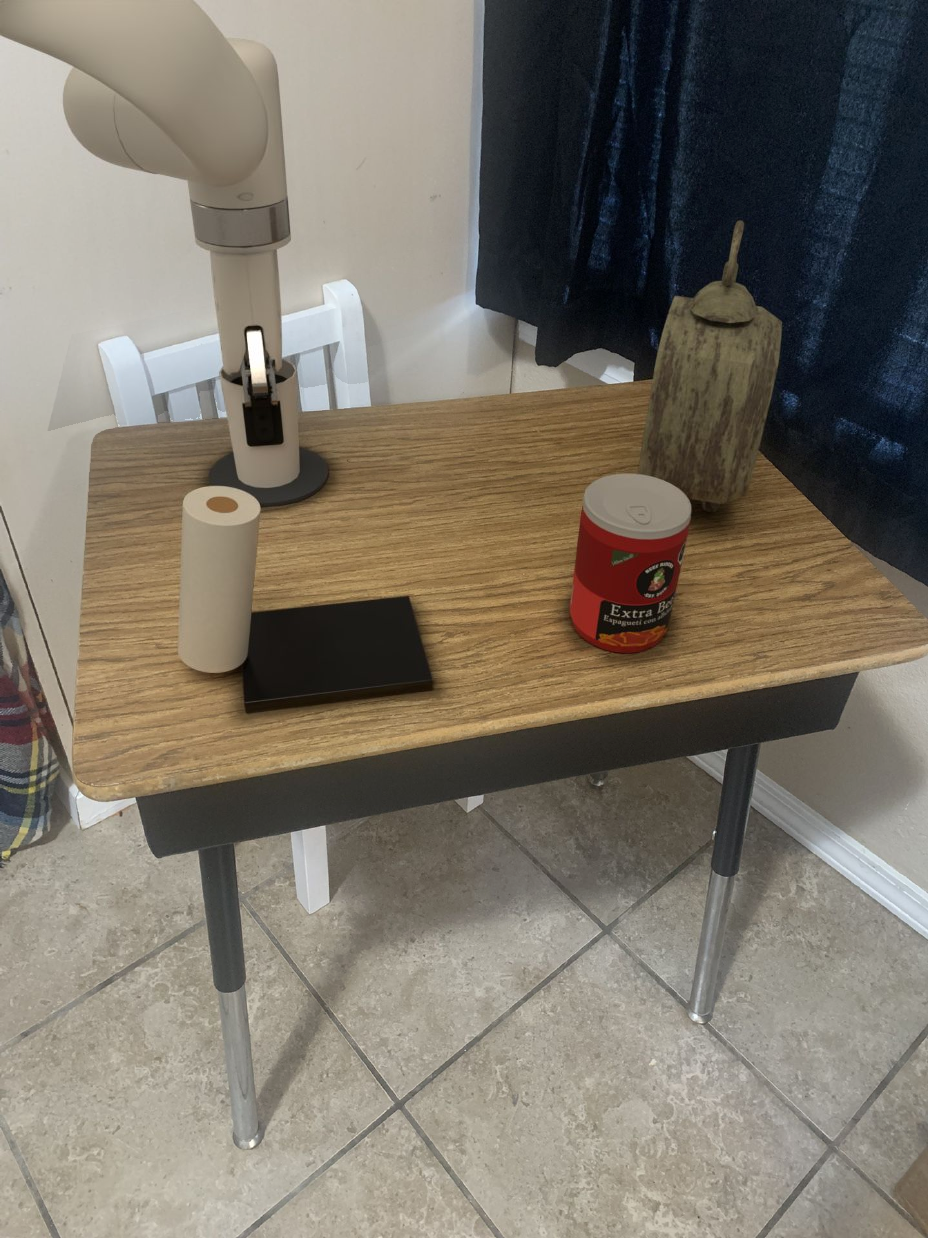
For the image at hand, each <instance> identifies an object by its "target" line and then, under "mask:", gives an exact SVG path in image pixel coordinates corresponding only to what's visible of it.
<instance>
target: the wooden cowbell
mask: <svg viewBox="0 0 928 1238" xmlns="http://www.w3.org/2000/svg"><path fill="white" fill-rule="evenodd" d="M744 229H745V222H744V221H743V220H737V221H736V222H735V225H734V228H733V233H732V237H731V246H730V251H729V257H728V260H727V261H726V262H725V264H724V267H723V271H722V272H723V273H722V278H721V280H715V281H711V282H710V283H708V284H707V285H705V286H704V287H703V288H701V289H700V290H699V291H698V292H697V293H696V294H695V295H694V297H688V296H680V295H674V297H673V299H672V301H671V305H670V307H669V309H668V312H667V313H668V314H667V316H666V319H665V323H664V327H663V329H662V333H661V337H660V341H659V345H658V349H657V353H656V358H655V365H654V370H653V376H652V381H651V387H650V392H649V399H648V405H647V411H646V416H645V417H646V418H645V424H644V429H643V434H642V443H641V448H640V449H641V450H640V456H639V461H638V469H637V474H641V475H647V476H651V477H655V478H658V479H661V480H664V481H666V482H668V483H670V484H672V485H674V486H675V487H677V488H678V489H680V490H681V491H682V492H683V493H684V494H685V495H686V496H687V498H688V499H689V500H695V501H701V505H702V509H703V510H704V511H706V512H707V513H711V514H712V513H716V512H717V511H718V510H719V508H720V507H721V505H724V504H727V503H731V502H733V501H736V500H739V499H742V498H744V497H747V496H748V494H749V491H750V490H749V489H750V486H751V482H752V478H753V474H754V470H755V466H756V463H757V459H758V454H759V450H760V447H761V442H762V439H763V433H764V429H765V425H766V422H767V416H768V413H769V408H770V404H771V400H772V396H773V391H774V387H775V382H776V378H777V373H778V366H779V360H780V354H781V353H780V352H781V343H782V331H783V329H782V328H783V321H781V319H779V318H778V317H776V316H775V315H774V314H772V313H771V312H769V311H768V310H767V309H765V307H763V306H758V305H756V302H755V300H754V297H753V296H752V294H751V293H750V292H749V290H748V289H747V287H746V286H745V285H743V284H740V283H738V282H736V281H737V280H736V279H737V276H738V271H739V264H738V262H737V261H738V253H739V250H740V246H741V241H742V237H743V233H744Z"/></svg>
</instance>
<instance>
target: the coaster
mask: <svg viewBox="0 0 928 1238" xmlns="http://www.w3.org/2000/svg"><path fill="white" fill-rule="evenodd" d="M299 464H300V472H299V474H298V477H297V478H296V479H294V480H293V481H292V482H290V483H288V484H285V485H282V486H278V487H271V488H260V487H253V486H250V485H247V484H244V483H243V482H242V481H240V480H239V478H238V475H237V470H236V464H235V459H234V453H233V451H231V452H230V453H227V454H225V455H224V456H223V457H221V458H219V459H218V460H217V461H216V462H215V463H214V464H213V465H212V466H211V468H210V470H209V473H208V481H209V486H225V487H232V488H236V489H239V490H242V491H245V492H247V493H249V494H250V495H252V496H253V497H254V498H255V499H256V500H257V501H258V502H259V504H260V507H267V508H268V507H278V506H279V507H280V506H285V505H289V504H293V503H296V502H297V503H298V502H299V501H300V502H301V501H302V500H306V499H307V498H310V497H312V496H313V495H314V494H316V493H318V492H319V491H320V490H321V489H323V487H324V486H325V484H327V481H328V479H329V465H328V463H327V462H326V461H325V459H324V458H323V457H322V456H320V455H319V454H318V453H316V452H315V451H312V450H310V449H308V448H304V447H301V446H299Z"/></svg>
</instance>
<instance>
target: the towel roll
mask: <svg viewBox="0 0 928 1238" xmlns="http://www.w3.org/2000/svg"><path fill="white" fill-rule="evenodd" d="M261 511H262V510H261V507H260V504H259V502H258V501H257V500H256V499H255V498H254V497H253V496H252V495H250V494H249V493H247V492H245V491H242V490H239V489H236V488H232V487H225V486H211V485H209V486H203V487H199V488H195V489H193V490H192V491H190V492H188V493H187V494H186V495H185V496H184V498H183V499H182V515H181V517H182V518H181V520H182V521H181V544H180V545H181V546H180V572H179V575H180V576H179V601H178V629H177V655H178V657H179V659H180V661H181V662H182V663H183V664H184V665H186V666H187V667H189V668H191V669H193V670H196V671H199V672H202V673H208V674H211V673H212V674H220V673H226V672H230V671H233V670H235V669H237V668H238V667H240V666H242V663H243V662H244V661H245V660H246V658H247V655H248V645H249V634H250V622H251V612H253V610H252V609H253V598H254V589H255V577H256V568H257V567H256V566H257V557H258V556H257V555H258V554H257V553H258V543H259V533H260V522H261V521H260V520H261Z"/></svg>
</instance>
